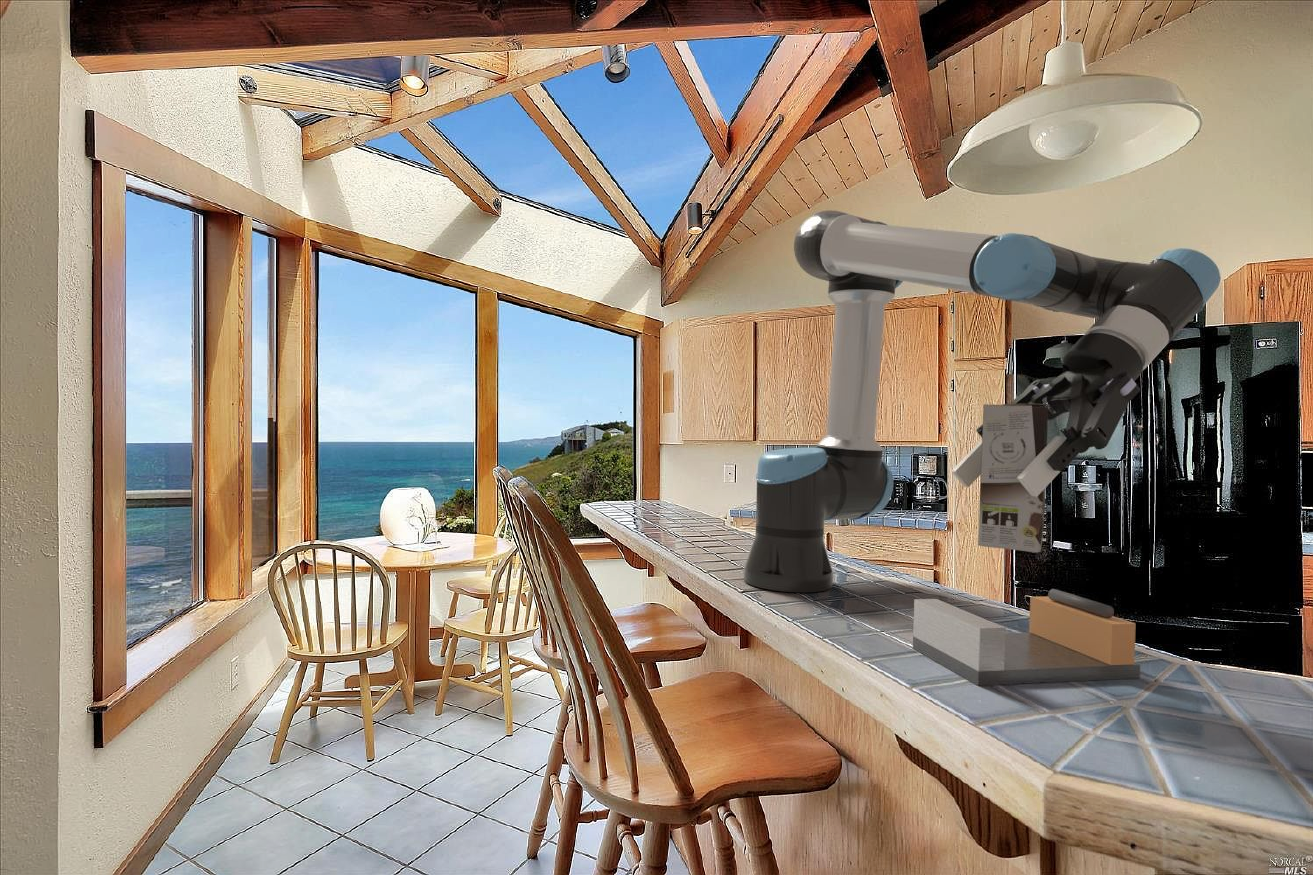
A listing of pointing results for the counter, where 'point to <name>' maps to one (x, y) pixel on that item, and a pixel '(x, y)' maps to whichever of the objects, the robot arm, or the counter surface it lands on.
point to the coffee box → (1011, 476)
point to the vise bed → (1035, 663)
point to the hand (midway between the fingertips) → (990, 483)
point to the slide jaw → (1083, 627)
